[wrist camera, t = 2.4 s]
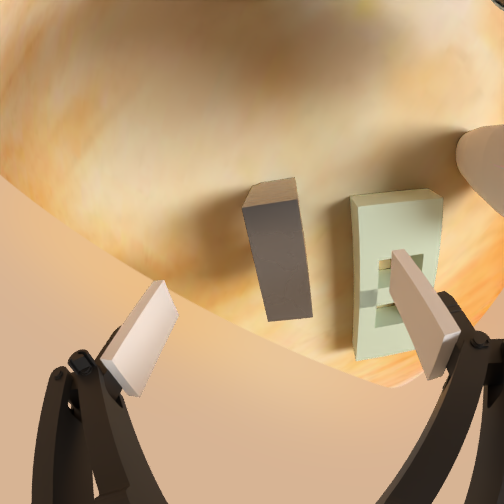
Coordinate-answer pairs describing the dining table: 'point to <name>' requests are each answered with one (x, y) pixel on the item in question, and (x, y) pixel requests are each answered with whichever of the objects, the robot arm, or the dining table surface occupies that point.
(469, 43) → the dining table surface
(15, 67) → the dining table surface
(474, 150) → the cup
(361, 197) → the block with rectangular hole
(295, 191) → the grey foam block
